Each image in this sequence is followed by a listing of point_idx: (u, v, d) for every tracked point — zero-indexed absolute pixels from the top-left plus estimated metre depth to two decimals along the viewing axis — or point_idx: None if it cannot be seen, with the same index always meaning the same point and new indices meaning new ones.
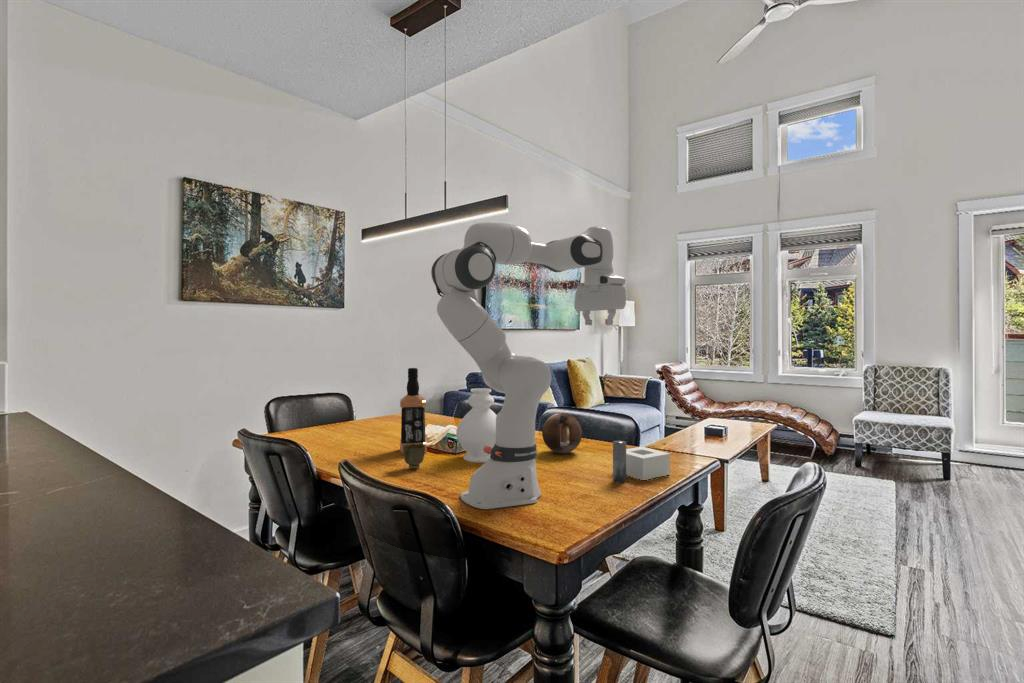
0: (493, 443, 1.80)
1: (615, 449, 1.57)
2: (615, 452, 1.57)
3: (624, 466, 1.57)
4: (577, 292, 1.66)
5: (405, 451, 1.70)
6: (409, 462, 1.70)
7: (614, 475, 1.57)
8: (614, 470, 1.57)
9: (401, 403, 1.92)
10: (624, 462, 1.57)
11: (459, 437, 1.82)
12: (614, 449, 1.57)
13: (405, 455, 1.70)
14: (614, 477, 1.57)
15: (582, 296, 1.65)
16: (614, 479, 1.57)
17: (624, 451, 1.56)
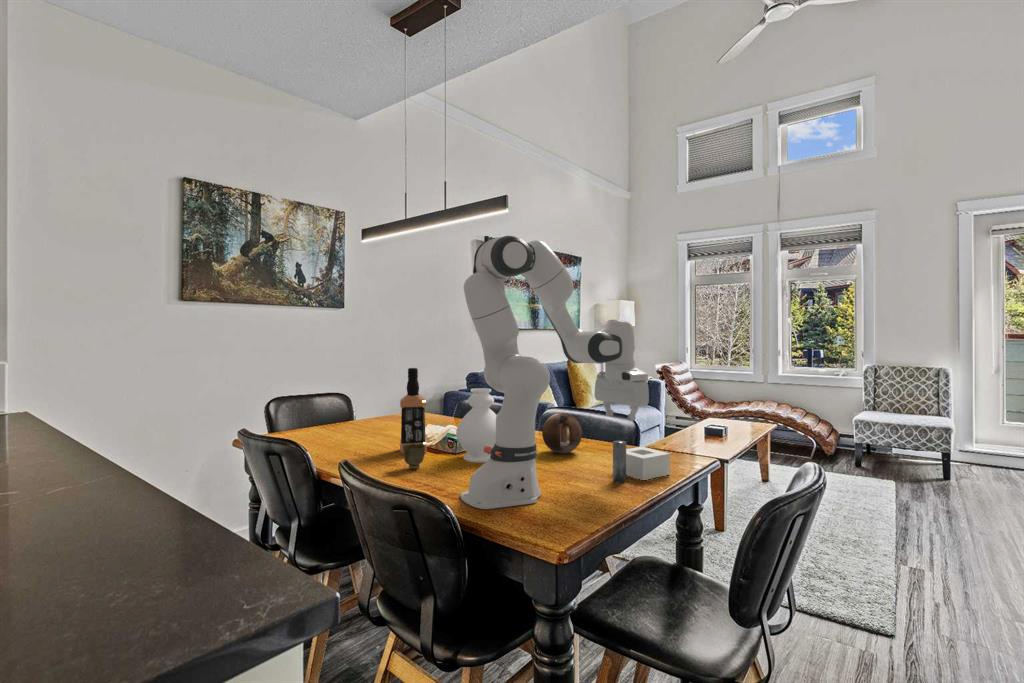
0: (493, 443, 1.80)
1: (615, 449, 1.57)
2: (615, 452, 1.57)
3: (624, 466, 1.57)
4: (597, 381, 1.64)
5: (405, 451, 1.70)
6: (409, 462, 1.70)
7: (614, 475, 1.57)
8: (614, 470, 1.57)
9: (401, 403, 1.92)
10: (624, 462, 1.57)
11: (459, 437, 1.82)
12: (614, 449, 1.57)
13: (405, 455, 1.70)
14: (614, 477, 1.57)
15: (603, 387, 1.62)
16: (614, 479, 1.57)
17: (624, 451, 1.56)
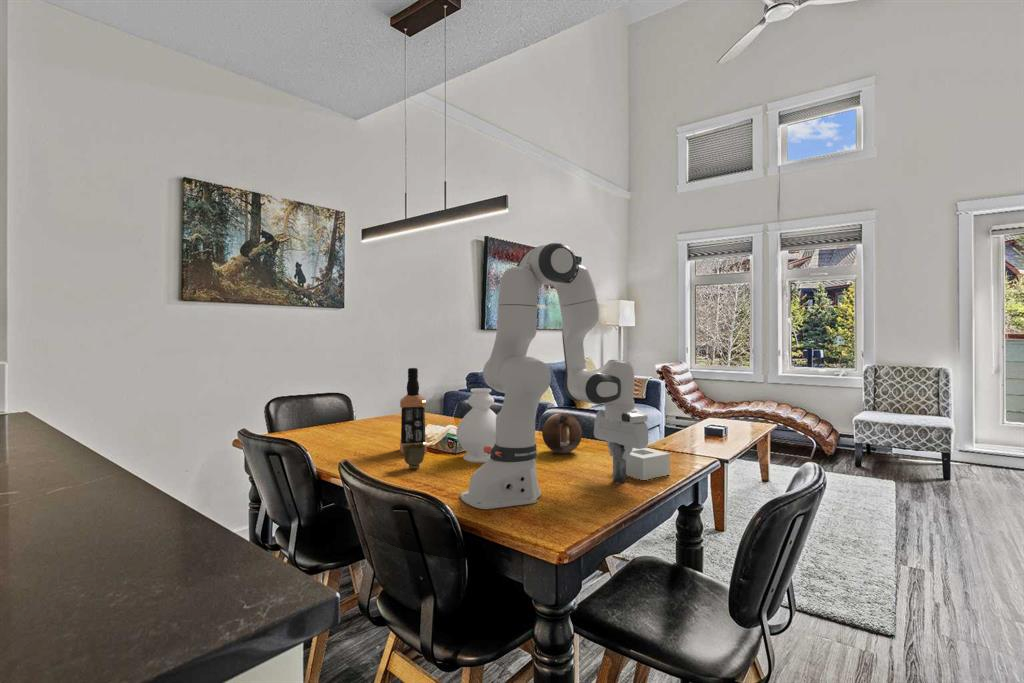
0: (493, 443, 1.80)
1: (615, 449, 1.57)
2: (615, 452, 1.57)
3: (624, 466, 1.57)
4: (597, 420, 1.64)
5: (405, 451, 1.70)
6: (409, 462, 1.70)
7: (614, 475, 1.57)
8: (614, 470, 1.57)
9: (401, 403, 1.92)
10: (624, 462, 1.57)
11: (459, 437, 1.82)
12: (614, 449, 1.57)
13: (405, 455, 1.70)
14: (614, 477, 1.57)
15: (602, 425, 1.62)
16: (614, 479, 1.57)
17: (624, 451, 1.56)
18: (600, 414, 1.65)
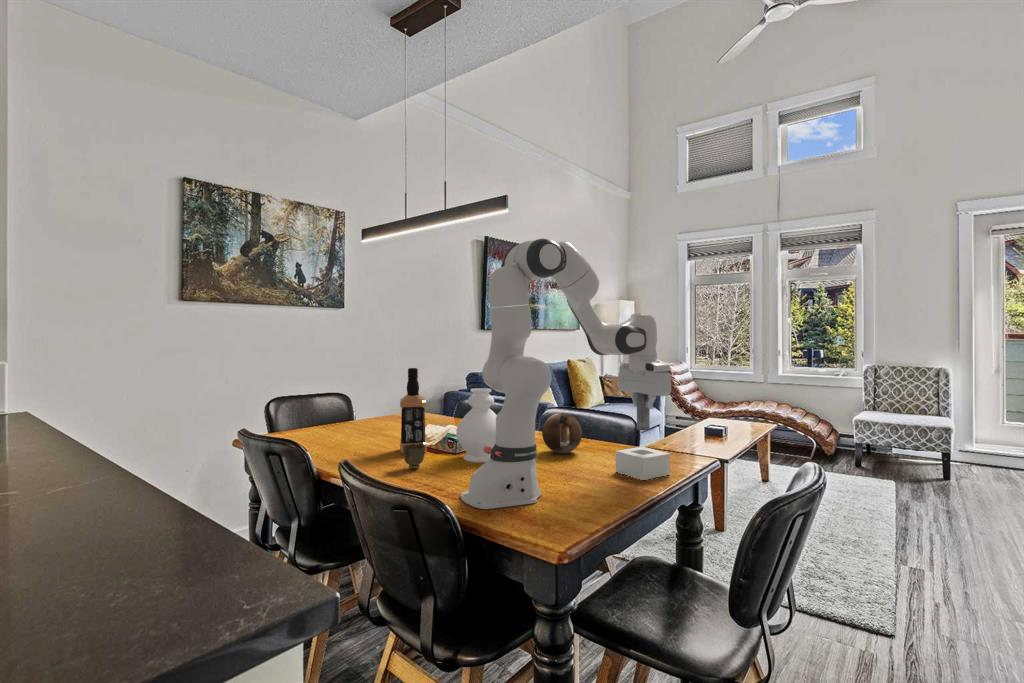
0: (493, 443, 1.80)
1: (639, 398, 1.65)
2: (639, 401, 1.65)
3: (648, 414, 1.65)
4: (620, 373, 1.72)
5: (405, 451, 1.70)
6: (409, 462, 1.70)
7: (638, 423, 1.65)
8: (638, 419, 1.65)
9: (401, 403, 1.92)
10: (648, 411, 1.64)
11: (459, 437, 1.82)
12: (638, 398, 1.65)
13: (405, 455, 1.70)
14: (638, 425, 1.65)
15: (626, 377, 1.70)
16: (638, 427, 1.65)
17: (648, 400, 1.64)
18: (623, 367, 1.72)
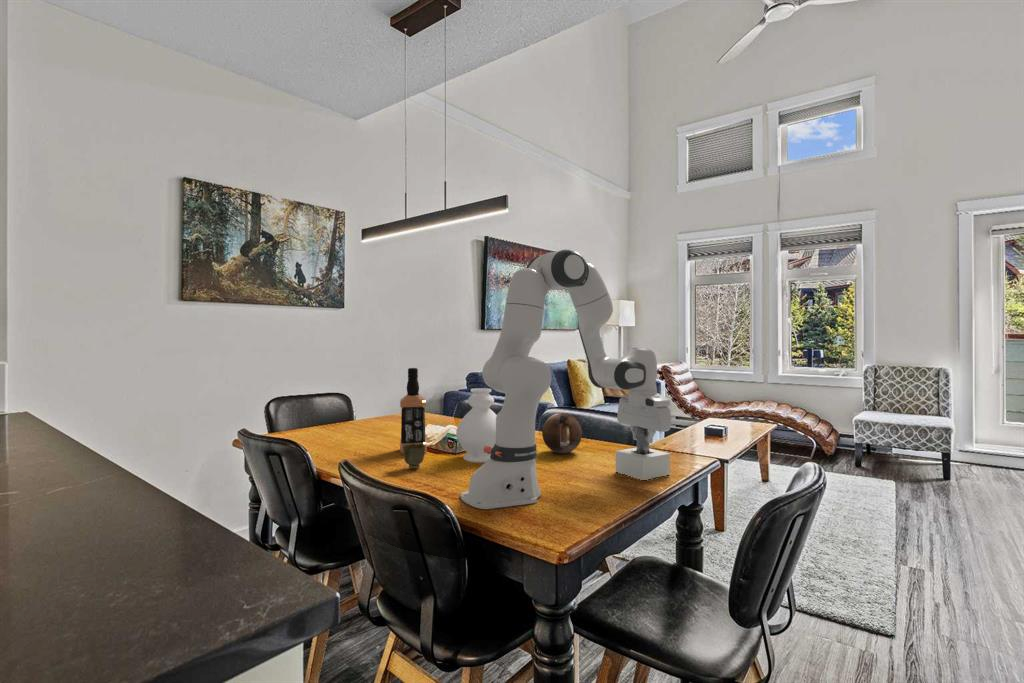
0: (493, 443, 1.80)
1: (639, 432, 1.65)
2: (639, 435, 1.65)
3: (647, 449, 1.65)
4: (620, 405, 1.72)
5: (405, 451, 1.70)
6: (409, 462, 1.70)
7: None
8: (638, 452, 1.65)
9: (401, 403, 1.92)
10: (647, 445, 1.65)
11: (459, 437, 1.82)
12: (638, 432, 1.65)
13: (405, 455, 1.70)
14: None
15: (626, 410, 1.70)
16: None
17: (647, 434, 1.65)
18: (623, 400, 1.73)
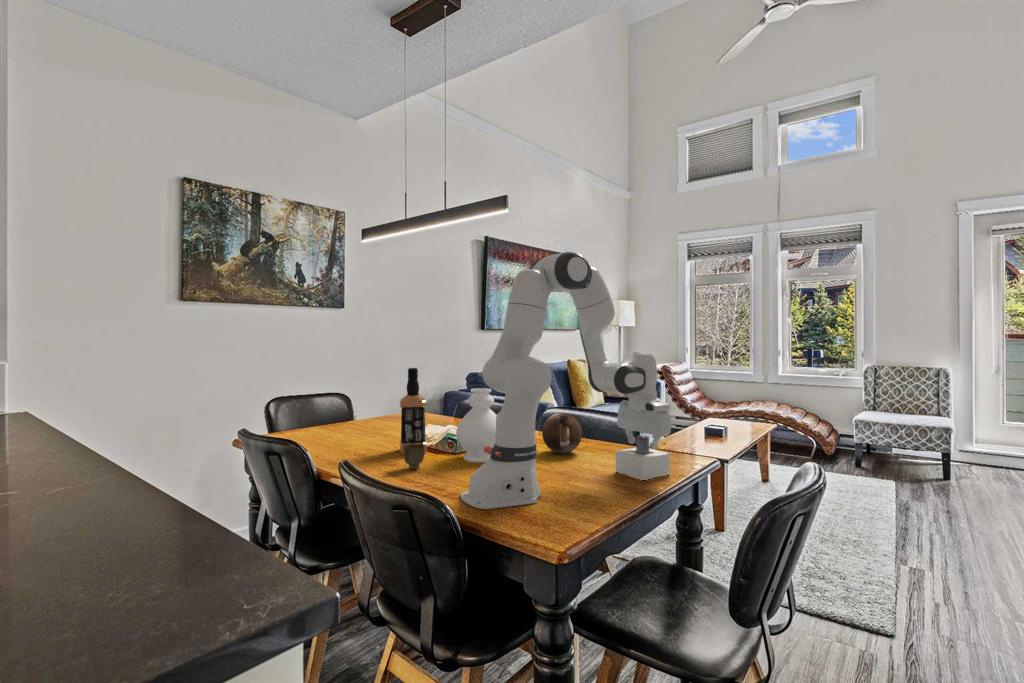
0: (493, 443, 1.80)
1: (638, 443, 1.65)
2: (638, 446, 1.65)
3: None
4: (620, 410, 1.72)
5: (405, 451, 1.70)
6: (409, 462, 1.70)
7: None
8: None
9: (401, 403, 1.92)
10: None
11: (459, 437, 1.82)
12: (637, 443, 1.65)
13: (405, 455, 1.70)
14: None
15: (626, 415, 1.70)
16: None
17: (647, 445, 1.65)
18: (623, 404, 1.73)
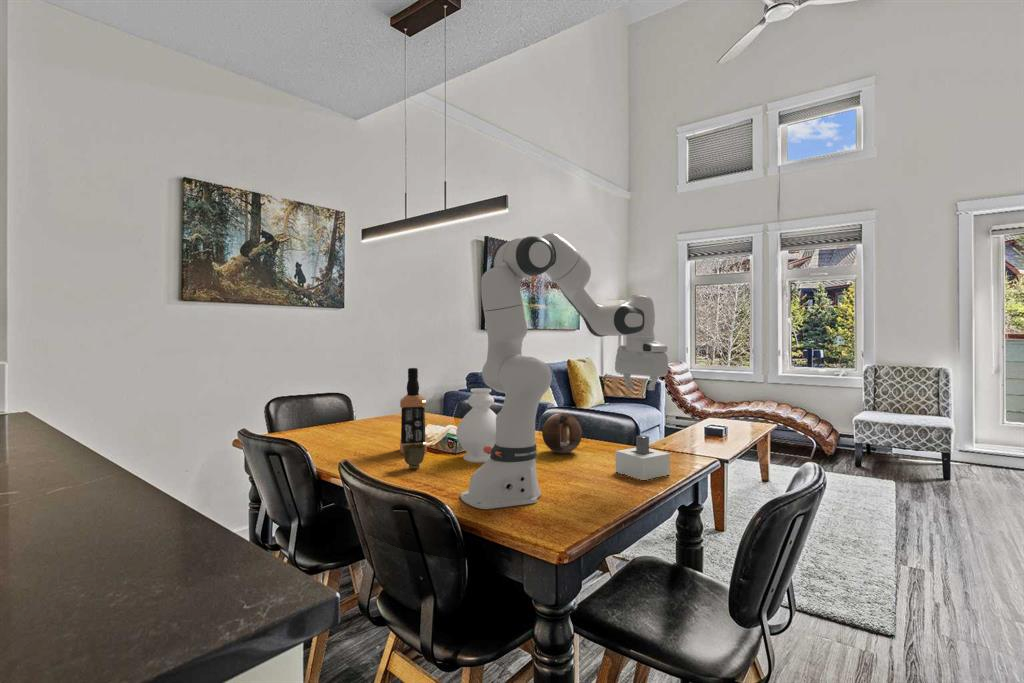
0: (493, 443, 1.80)
1: (638, 443, 1.65)
2: (638, 446, 1.65)
3: None
4: (618, 355, 1.72)
5: (405, 451, 1.70)
6: (409, 462, 1.70)
7: None
8: None
9: (401, 403, 1.92)
10: None
11: (459, 437, 1.82)
12: (637, 443, 1.65)
13: (405, 455, 1.70)
14: None
15: (623, 359, 1.70)
16: None
17: (647, 445, 1.65)
18: (621, 350, 1.73)
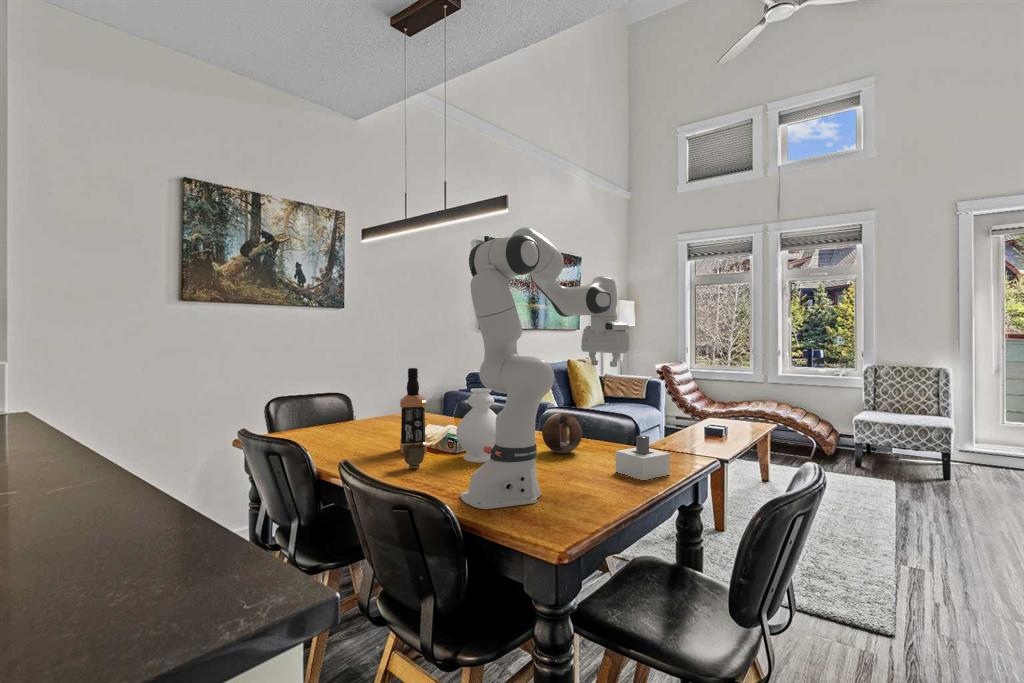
0: (493, 443, 1.80)
1: (638, 443, 1.65)
2: (639, 446, 1.65)
3: None
4: (584, 334, 1.81)
5: (405, 451, 1.70)
6: (409, 462, 1.70)
7: None
8: None
9: (401, 403, 1.92)
10: None
11: (459, 437, 1.82)
12: (638, 443, 1.65)
13: (405, 455, 1.70)
14: None
15: (589, 339, 1.79)
16: None
17: (647, 445, 1.65)
18: (587, 330, 1.82)
